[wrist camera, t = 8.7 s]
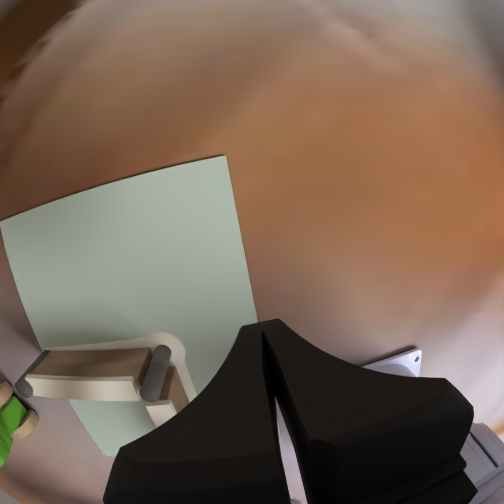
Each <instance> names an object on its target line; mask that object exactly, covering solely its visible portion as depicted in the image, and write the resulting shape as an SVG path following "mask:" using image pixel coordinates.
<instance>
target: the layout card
mask: <svg viewBox="0 0 504 504" xmlns="http://www.w3.org/2000/svg"><path fill="white" fill-rule="evenodd" d="M0 228H1V233H2V237H3V241H4V245H5V249H6V253H7V256H8V260H9V264H10V267H11V270H12V274H13V277H14V280H15V283H16V286H17V289H18V292H19V295H20V298H21V301H22V303H23V306H24V309H25V311H26V314H27V317H28V319H29V322H30V324H31V327H32V329H33V331H34V334H35V336H36V338H37V341H38V343H39V345H40V347H41V349H42V352H43V351H44V350H49V351H87V350H113V349H132V348H147V347H150V349H151V352H152V356H153V354H154V351H155V348H156V347H157V346H158V345H166V346H168V347H169V348H170V349H171V357H170V361H169V364H168V367H173V366H176V369H177V372H178V374H179V377H180V380H181V382H182V385H183V387H184V390H185V392H186V395H187V397H188V400H189V402H191V401H192V400H193V399H194V398H195V397H196V396H197V395H198V394H200V393H201V391H202V390H203V389H204V388H205V387H206V386H207V385H208V383H209V382H210V381H211V380H212V378H213V377H214V376H215V374H216V373H217V371H218V370H219V368H220V367H221V365H222V364H223V362H224V361H225V359H226V357H227V355H228V353H229V352H230V350H231V348H232V346H233V344H234V342H235V340H236V337H237V335H238V332H239V329H240V328H241V326H243V325H248V324H253V323H258V320H257V315H256V310H255V305H254V299H253V294H252V289H251V284H250V279H249V274H248V269H247V264H246V259H245V254H244V248H243V243H242V238H241V233H240V228H239V223H238V217H237V212H236V207H235V202H234V196H233V191H232V186H231V181H230V175H229V170H228V165H227V160H226V155H225V156H220V157H215V158H210V159H205V160H200V161H196V162H191V163H187V164H182V165H178V166H174V167H169V168H165V169H161V170H157V171H153V172H149V173H145V174H141V175H138V176H134V177H130V178H127V179H123V180H119V181H116V182H112V183H109V184H106V185H102V186H99V187H96V188H92V189H89V190H86V191H83V192H80V193H77V194H73V195H70V196H67V197H64V198H62V199H59V200H56V201H53V202H50V203H47V204H44V205H42V206H39V207H36V208H33V209H31V210H28V211H26V212H23V213H20V214H18V215H15V216H13V217H10V218H8V219H5V220H3V221H0ZM67 400H68V401H69V403H70V405H71V406H72V408H73V410H74V411H75V413H76V415H77V416H78V418H79V419H80V421H81V423H82V424H83V426H84V427H85V429H86V430H87V432H88V433H89V435H90V436H91V438H92V439H93V441H94V442H95V443H96V445H97V446H98V448H99V449H100V450H101V452H102V453H103V455H104V456H117V453H118V451H119V448H120V447H122V446H124V445H126V444H128V443H130V442H132V441H134V440H136V439H138V438H140V437H141V436H143V435H145V434H147V433H149V432H151V431H152V430H154V429H156V428H157V427H156V425H155V424H154V422H153V420H152V418H151V416H150V414H149V412H148V410H147V408H146V403H147V401H145V400H143V399H142V398H140V401H94V400H75V399H67ZM277 423H278V419H277ZM278 433H279V444H280V443H282V438H281V433H280V428H279V423H278Z"/></svg>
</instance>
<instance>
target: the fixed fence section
mask: <svg viewBox="0 0 504 504" xmlns="http://www.w3.org/2000/svg"><path fill="white" fill-rule="evenodd" d="M170 357H171V349H170V348H169V347H168V346H166V345H158V346H157V347H156V348H155V351H154V354H153V356H152V359H151V362H150V364H149V367H148V370H147V372H146V375H145V378H144V381H143V383H142V386H141V389H140V392H139V394H140V396H141V398H142V399H143V400H145V401H147V403H146V408H147V410H148V412H149V414H150V416H151V418H152V420H153V422H154V424H155V425H156V427H159V426H160V425H162V424H163V423H165V422H166V421H168V420H169V419H170V418H172V417H173V416H174V415H176V414H177V413H178V412H180V411H181V410H182V409H183V408H184V407H185V406H187V405H188V404H189V403H190V402H189V400H188V397H187V395H186V392H185V390H184V387H183V385H182V382H181V380H180V377H179V374H178V372H177V369H176V366H173V367H168V364H169V361H170Z"/></svg>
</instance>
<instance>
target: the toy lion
mask: <svg viewBox="0 0 504 504" xmlns="http://www.w3.org/2000/svg"><path fill="white" fill-rule="evenodd" d="M12 393H13V388H12V387H11V386H10V385H9V383H8V382H7V381H4V382H3V383H1V384H0V467H1V466H2V465H3V464H4V462H5V461H6V459H7V457H8V455H9V453H10V450H9V449H10V447H11V445H12V443H13V438H12V437H11V435H12V434H13V432H14V433H15V434H16V435H17V436H18V437H19V438H24V437H26V436H27V435H28V434H30V433H31V432H32V430H33V429H34V428H35V427H36V425H37V423H38V421H39V417H38V416H37V415H36V414H35V412H34V411H33V410H31V409H30V410H28V411H27V410H26V409H25V407H24V406H23V405H22V404H21V403H20V402H19V400H18V399H17V398H16V397H15V396H11V394H12Z"/></svg>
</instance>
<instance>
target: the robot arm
mask: <svg viewBox="0 0 504 504" xmlns="http://www.w3.org/2000/svg"><path fill="white" fill-rule="evenodd" d="M421 355H422V351H421V350H420V349H419V348H415V349H412V350H409V351H407V352H404V353H401V354H398V355H395V356H393V357H390V358H387V359H384V360H381V361H378V362H375V363H372V364H368V365H365V366H362V367H360V366H357V365H354V364H351V363H348V362H346V361H343V360H341V359H339V358H336V357H334V356H332V355H330V354H328V353H326V352H324V351H322V350H320V349H319V348H317V347H315V346H314V345H312V344H311V343H309V342H308V341H306V340H305V339H303V338H302V337H301V336H299V335H298V334H297V333H295V332H294V331H293V330H292V329H290V328H289V327H288V326H287V325H286V324H285V323H284V322H283V321H281V320H280V319H273V320H268V321H263V322H258V323H253V324H248V325H243V326H241V328H240V329H239V332H238V335H237V337H236V340H235V342H234V344H233V346H232V348H231V350H230V352H229V353H228V355H227V357H226V359H225V361H224V362H223V364H222V365H221V367H220V368H219V370H218V371H217V373H216V374H215V376H214V377H213V378H212V380H211V381H210V382H209V383H208V385H207V386H206V387H205V388H204V389H203V390H202V391H201V393H200V394H198V395H197V396H196V397H195V398H194V399H193V400H192V401H191V402H190V403H189V404H188V405H187V406H185V407H184V408H183V409H182V410H181V411H180V412H178V413H177V414H176V415H174V416H173V417H172V418H170V419H169V420H168V421H166V422H165V423H163V424H162V425H160V426H159V427H157V428H156V429H154V430H152V431H151V432H149V433H147V434H145V435H143V436H141V437H140V438H138V439H136V440H134V441H132V442H130V443H128V444H126V445H124V446H122V447H120V448H119V451H118V453H117V456H116V458H115V460H114V463H113V466H112V469H111V472H110V476H109V479H108V483H107V486H106V489H105V493H104V496H103V502H104V504H291V500H290V495H289V491H288V486H287V481H286V476H285V472H284V467H283V462H282V457H281V451H280V444H279V433H278V423H277V412H276V402H275V396H276V399H277V402H278V405H279V407H280V410H281V413H282V416H283V419H284V421H285V424H286V427H287V430H288V432H289V435H290V438H291V441H292V444H293V447H294V450H295V453H296V457H297V462H298V466H299V470H300V474H301V478H302V482H303V486H304V491H305V495H306V499H307V503H308V504H504V443H503V442H502V441H501V440H500V439H499V437H498V436H497V435H496V434H495V433H494V432H493V431H492V430H491V429H490V428H489V427H488V426H487V425H485V424H484V423H477V424H475V423H472V422H473V418H474V410H473V406H472V405H471V404H470V403H469V401H468V400H467V399H466V398H465V397H464V396H463V395H462V394H461V393H460V391H459V390H458V389H457V388H456V387H454V386H453V385H452V384H451V383H450V382H449V381H448V380H447V379H446V378H427V377H419V370H420V363H421ZM416 357H417V358H416ZM415 358H416V359H415ZM469 434H470V435H471V436H470V435H469Z"/></svg>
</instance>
